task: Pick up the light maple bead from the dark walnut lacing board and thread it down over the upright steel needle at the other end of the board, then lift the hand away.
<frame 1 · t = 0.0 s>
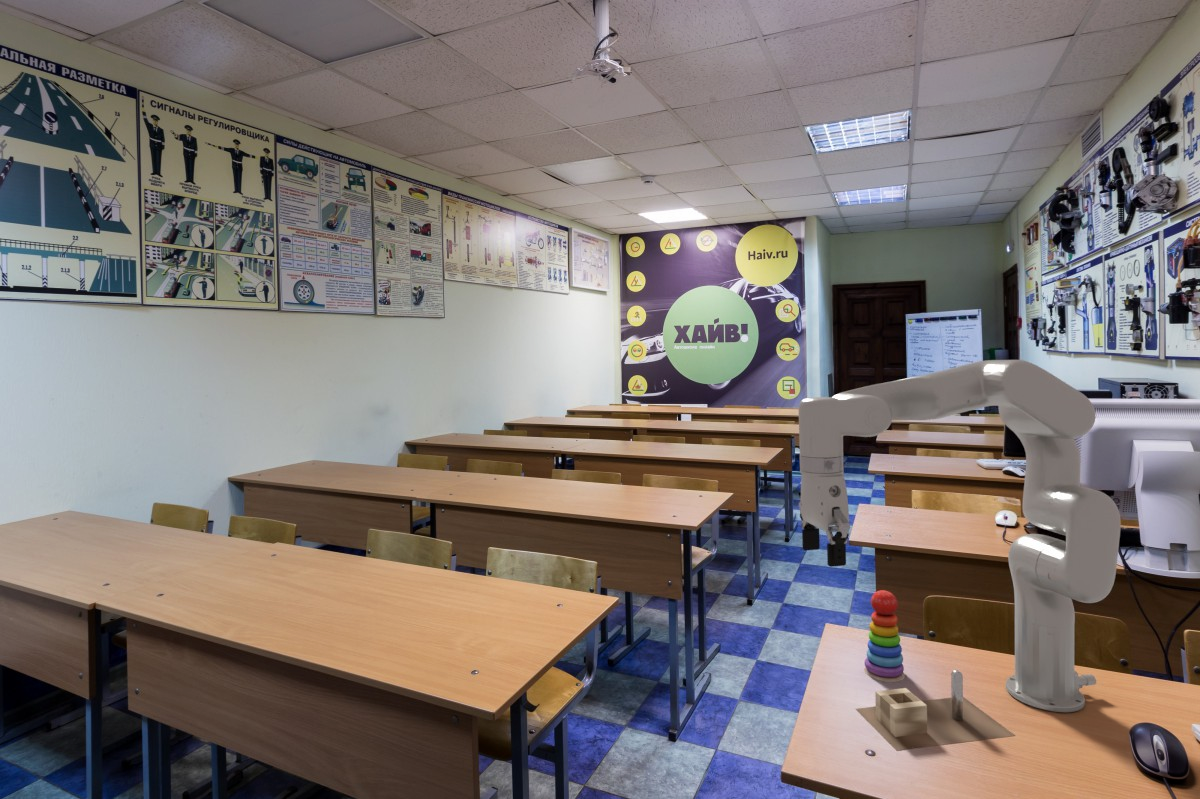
hand: (823, 557, 115), 31 cm above the table, tool pointing down, fingers open, 9 cm apart
steel needle: (957, 718, 114), resting on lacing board
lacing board: (931, 729, 113), on the table
stacking toy: (884, 680, 131), on the table
maple bead: (900, 725, 112), point 1 cm above the table, touching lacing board
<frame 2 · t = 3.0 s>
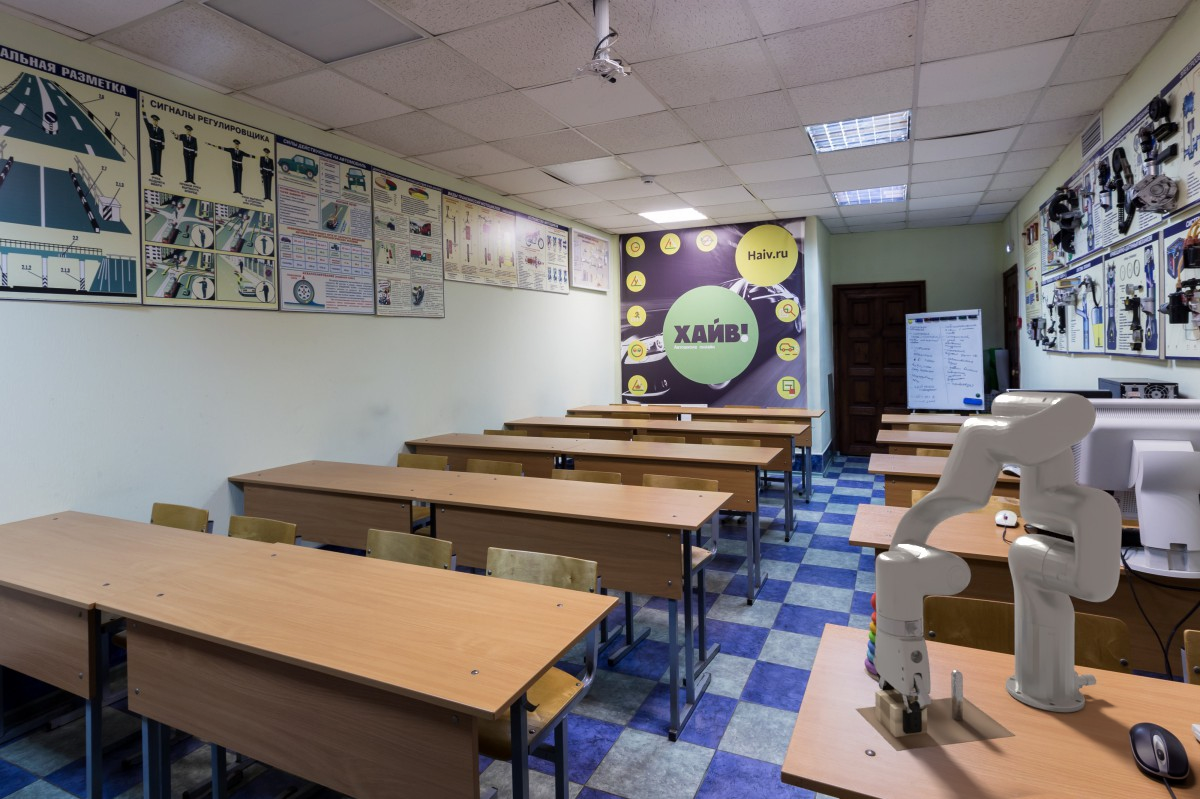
hand: (900, 720, 112), 2 cm above the table, tool pointing down, fingers closed on maple bead, 5 cm apart
maple bead: (900, 725, 112), point 2 cm above the table, touching gripper, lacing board
everything else where it was.
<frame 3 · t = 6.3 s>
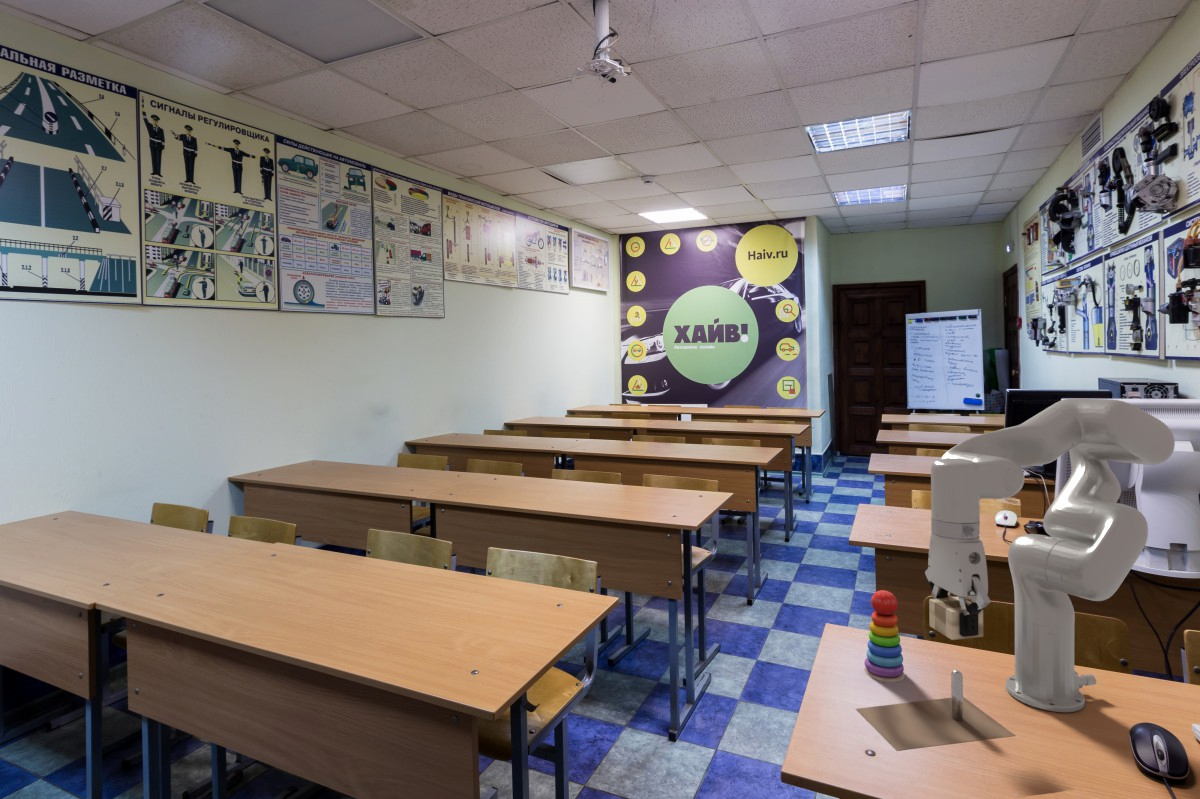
hand: (955, 626, 113), 19 cm above the table, tool pointing down, fingers closed on maple bead, 5 cm apart
maple bead: (955, 631, 113), point 18 cm above the table, touching gripper
everything else where it was.
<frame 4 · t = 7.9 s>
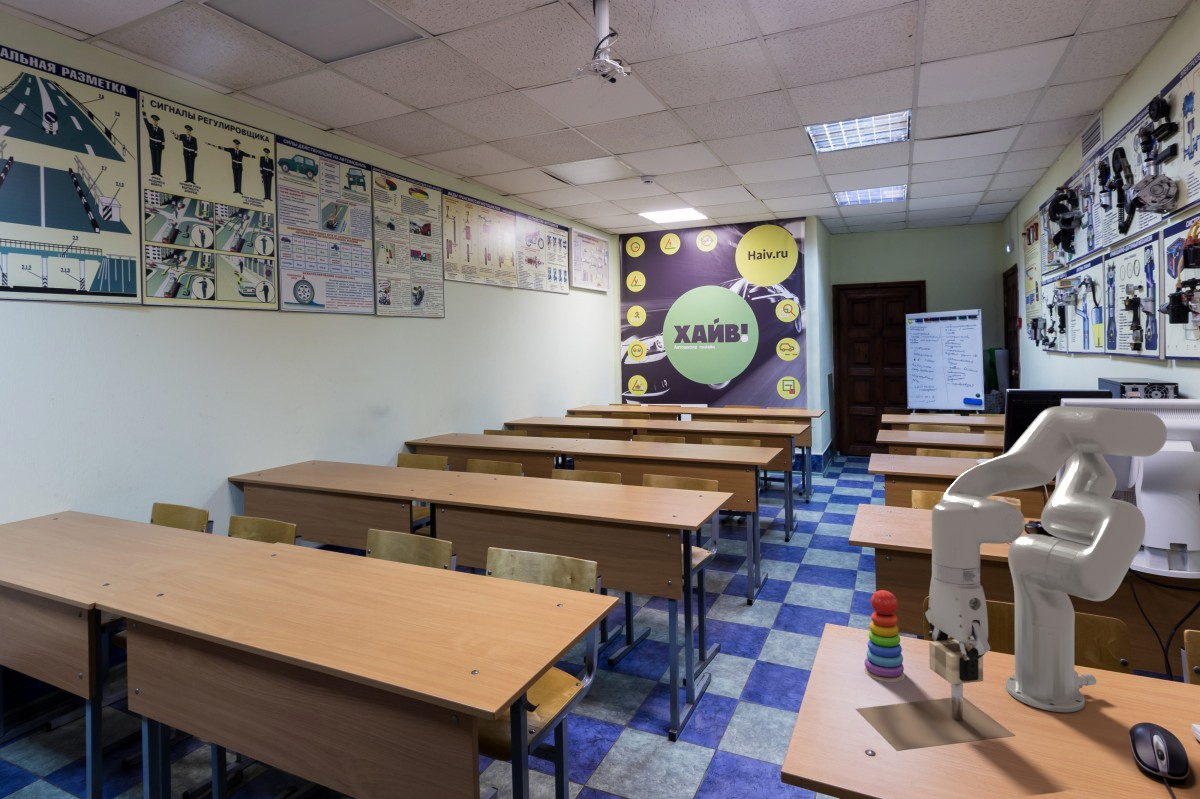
hand: (955, 669, 113), 11 cm above the table, tool pointing down, fingers closed on maple bead, 5 cm apart
maple bead: (955, 674, 113), point 10 cm above the table, touching gripper
everything else where it was.
when the fingers open (5 cm above the table, at t = 9.4 s): maple bead drops 3 cm, resting on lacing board.
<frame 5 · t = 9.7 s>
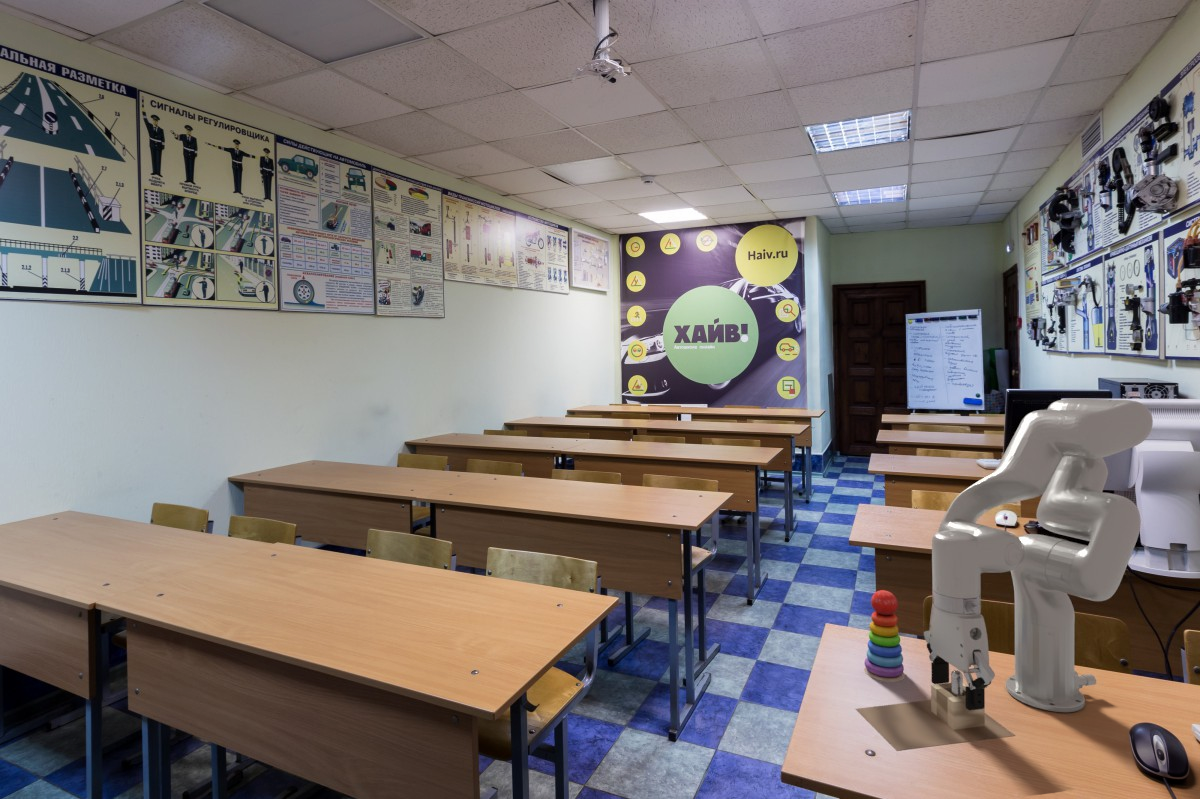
hand: (957, 694, 113), 6 cm above the table, tool pointing down, fingers open, 8 cm apart
maple bead: (957, 718, 114), point 1 cm above the table, touching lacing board
everything else where it was.
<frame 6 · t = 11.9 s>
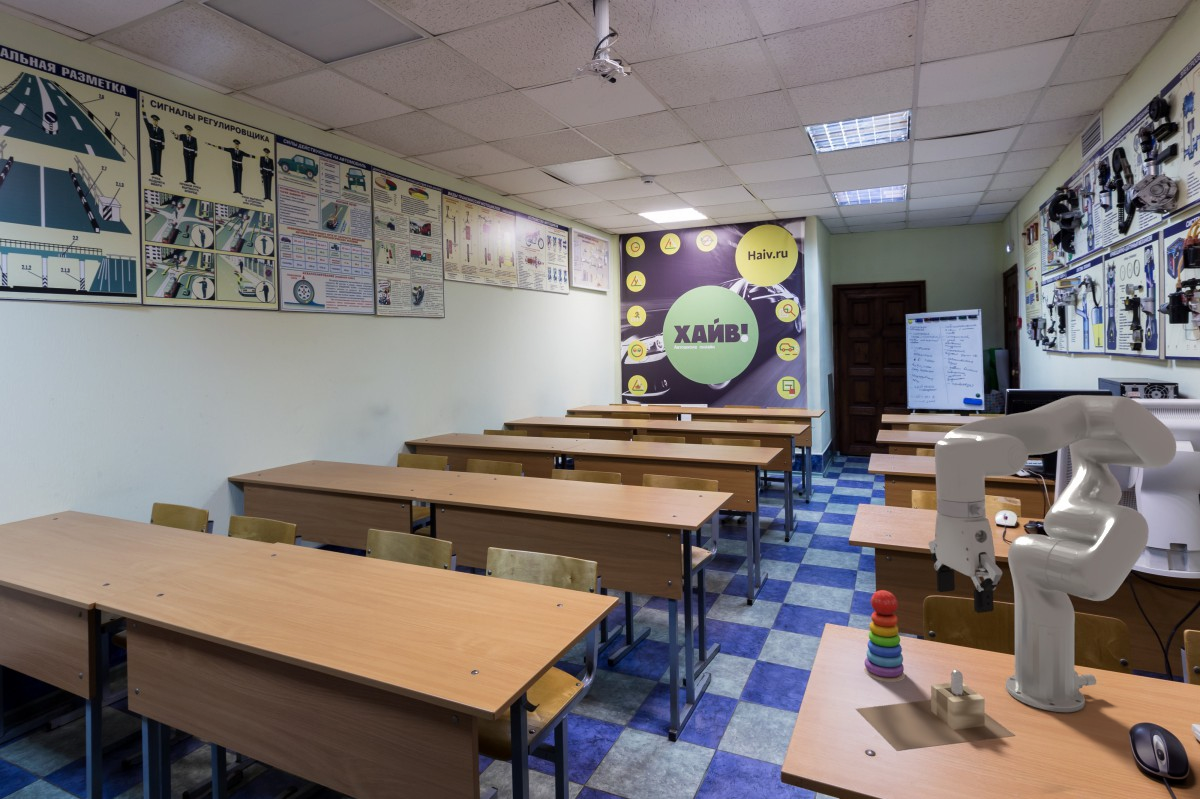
hand: (964, 600, 113), 23 cm above the table, tool pointing down, fingers open, 9 cm apart
nothing on the table moved.
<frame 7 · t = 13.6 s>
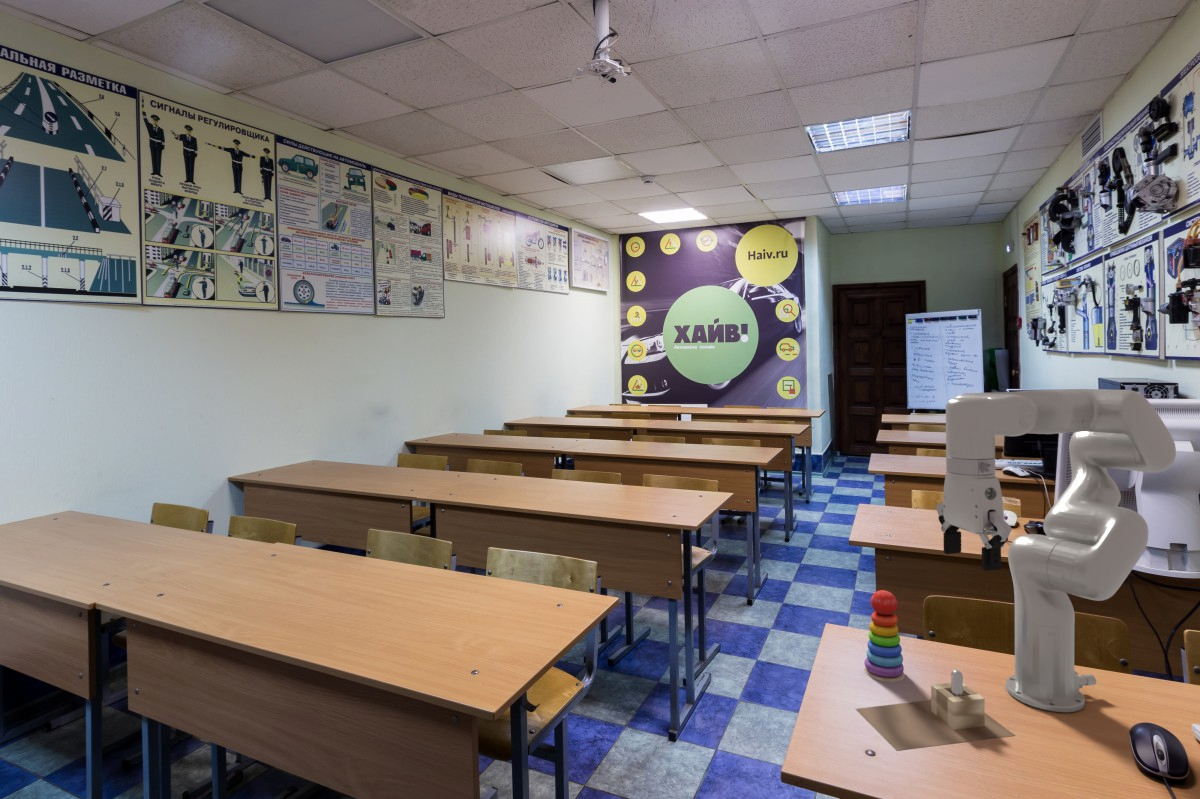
hand: (971, 561, 112), 30 cm above the table, tool pointing down, fingers open, 9 cm apart
nothing on the table moved.
at the end: maple bead 0.0 cm off-centre on the steel needle, point 0.0 cm above the steel needle's base; maple bead tilted 0°; the gripper is holding nothing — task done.
